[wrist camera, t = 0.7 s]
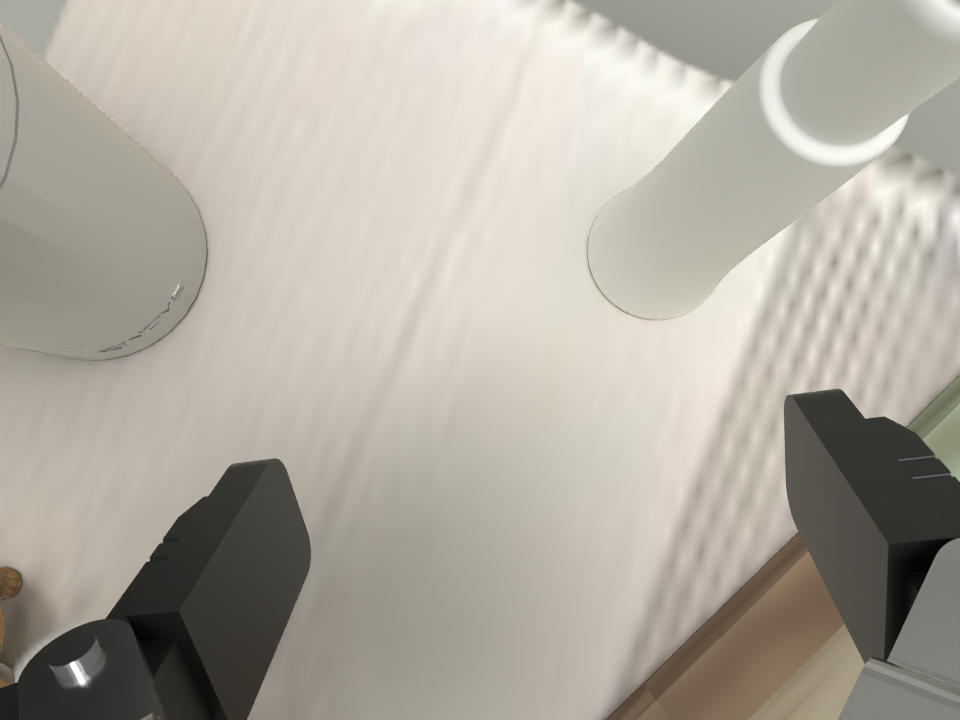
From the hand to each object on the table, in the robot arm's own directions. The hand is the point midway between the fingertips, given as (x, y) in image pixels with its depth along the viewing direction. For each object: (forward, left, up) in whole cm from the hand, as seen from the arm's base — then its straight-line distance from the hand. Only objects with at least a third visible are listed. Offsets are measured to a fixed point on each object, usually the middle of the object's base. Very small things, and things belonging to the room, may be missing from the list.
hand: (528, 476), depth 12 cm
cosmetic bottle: (-1, +11, -21) cm, 23 cm away
